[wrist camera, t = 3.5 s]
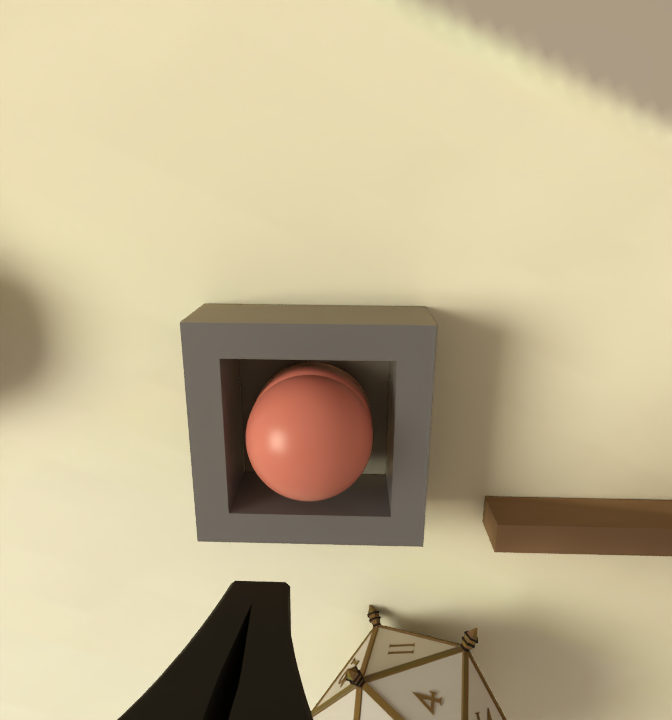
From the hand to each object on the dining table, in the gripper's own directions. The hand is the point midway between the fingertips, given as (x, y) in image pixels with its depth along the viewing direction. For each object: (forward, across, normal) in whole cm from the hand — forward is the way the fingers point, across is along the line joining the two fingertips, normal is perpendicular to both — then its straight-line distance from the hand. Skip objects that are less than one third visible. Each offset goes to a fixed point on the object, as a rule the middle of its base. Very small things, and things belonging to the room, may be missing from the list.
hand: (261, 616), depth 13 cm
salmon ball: (+9, -1, -2) cm, 9 cm away
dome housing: (+9, -1, -2) cm, 9 cm away
